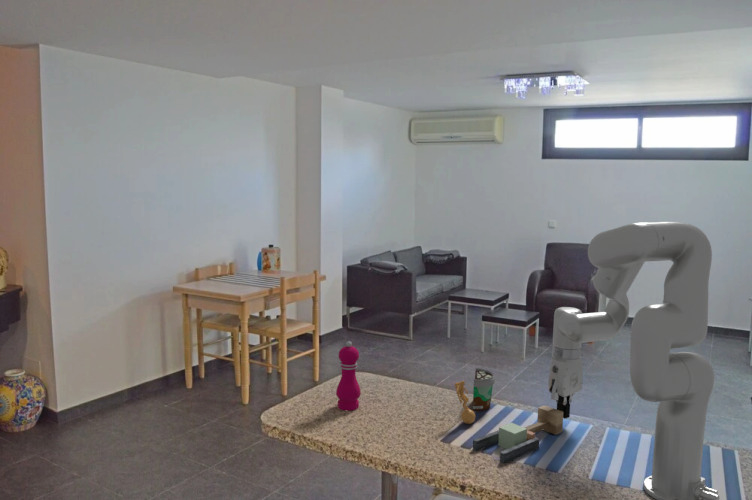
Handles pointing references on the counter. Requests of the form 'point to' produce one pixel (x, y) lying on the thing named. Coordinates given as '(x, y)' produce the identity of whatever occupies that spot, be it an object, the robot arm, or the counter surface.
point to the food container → (482, 389)
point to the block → (511, 435)
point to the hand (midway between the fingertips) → (562, 416)
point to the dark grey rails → (508, 453)
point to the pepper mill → (348, 379)
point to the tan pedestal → (546, 422)
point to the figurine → (467, 414)
